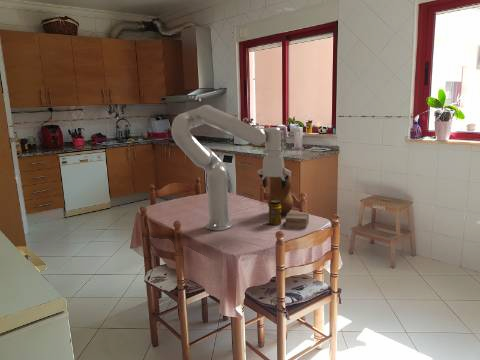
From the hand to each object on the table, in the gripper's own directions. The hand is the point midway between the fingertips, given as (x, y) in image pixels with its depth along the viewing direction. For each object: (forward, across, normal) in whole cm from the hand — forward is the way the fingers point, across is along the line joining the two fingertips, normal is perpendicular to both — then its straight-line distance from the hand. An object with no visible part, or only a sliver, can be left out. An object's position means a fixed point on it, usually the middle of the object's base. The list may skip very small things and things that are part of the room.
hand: (274, 187), depth 186 cm
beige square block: (+19, +10, +4) cm, 22 cm away
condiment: (+19, -1, 0) cm, 19 cm away
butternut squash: (+19, -3, +16) cm, 25 cm away
